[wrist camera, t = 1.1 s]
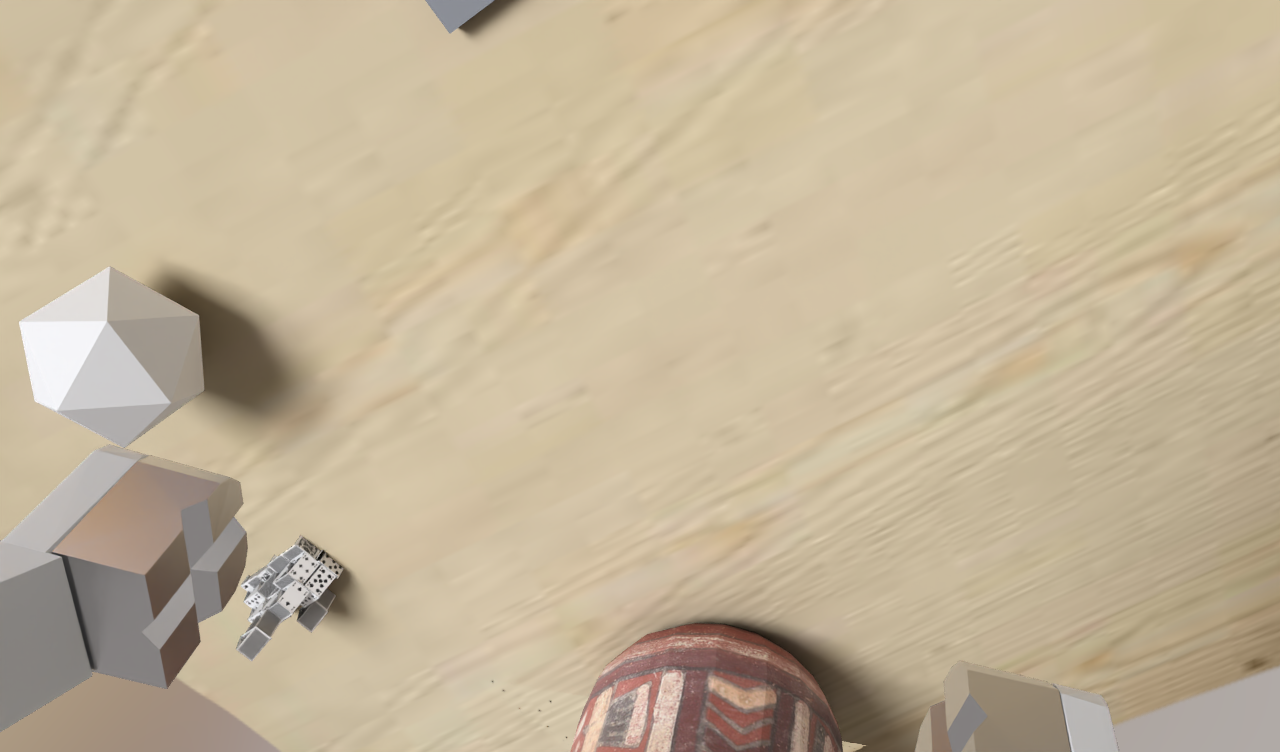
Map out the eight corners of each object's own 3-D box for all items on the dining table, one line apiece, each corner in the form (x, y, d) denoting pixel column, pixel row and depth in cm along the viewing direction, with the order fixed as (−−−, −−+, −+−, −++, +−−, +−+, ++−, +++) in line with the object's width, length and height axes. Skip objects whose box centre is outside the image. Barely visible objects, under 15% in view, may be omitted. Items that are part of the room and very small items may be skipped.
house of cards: (327, 652, 75) (277, 739, 69) (235, 580, 72) (175, 664, 66) (400, 608, 70) (355, 696, 64) (305, 529, 68) (248, 613, 61)
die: (88, 329, 61) (-33, 426, 53) (116, 217, 56) (-13, 305, 48) (216, 398, 62) (118, 504, 54) (255, 294, 57) (153, 394, 49)
